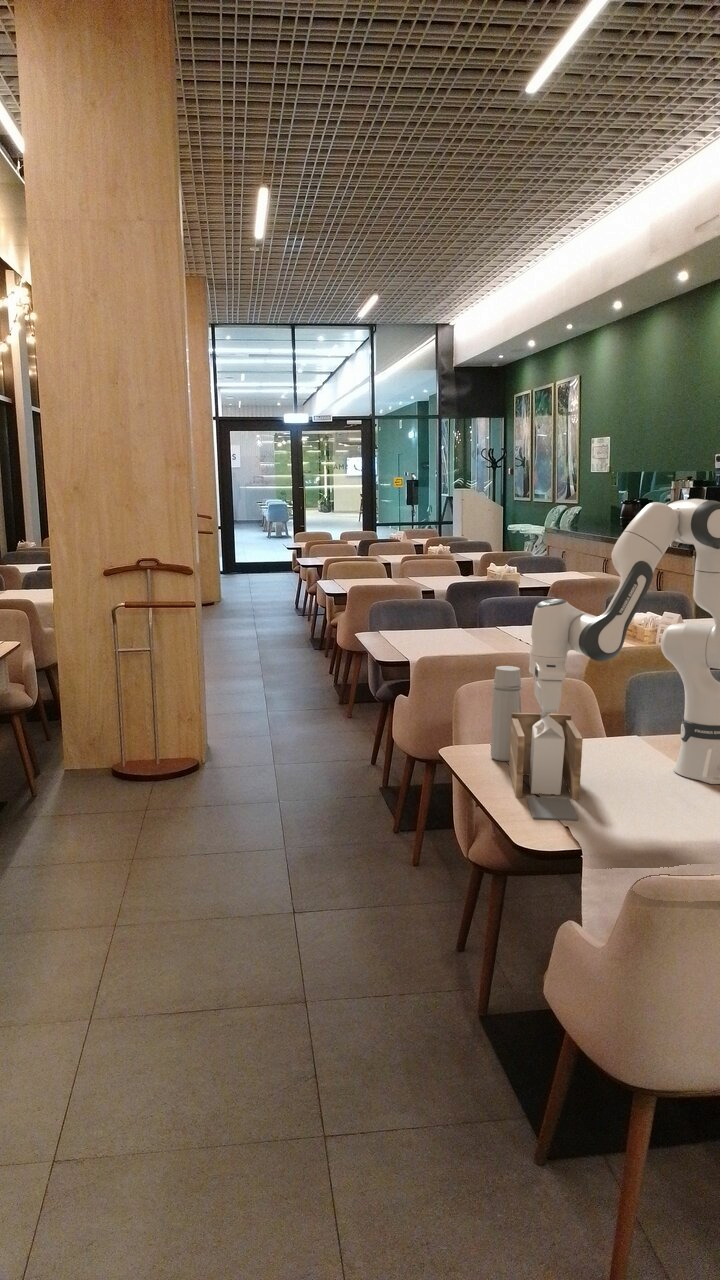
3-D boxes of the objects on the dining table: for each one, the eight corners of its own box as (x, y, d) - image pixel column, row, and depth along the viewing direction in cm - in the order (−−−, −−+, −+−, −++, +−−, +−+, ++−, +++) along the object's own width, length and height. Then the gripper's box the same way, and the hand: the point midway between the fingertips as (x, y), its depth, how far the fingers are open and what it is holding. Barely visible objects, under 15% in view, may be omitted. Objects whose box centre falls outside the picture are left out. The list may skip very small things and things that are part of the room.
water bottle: (501, 763, 254) (505, 671, 250) (484, 756, 261) (487, 666, 257) (529, 759, 258) (533, 669, 254) (511, 752, 265) (515, 663, 261)
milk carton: (557, 781, 236) (563, 711, 229) (560, 795, 229) (566, 724, 223) (528, 780, 237) (533, 710, 230) (530, 794, 230) (535, 723, 223)
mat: (568, 799, 227) (569, 798, 227) (578, 820, 213) (578, 818, 213) (526, 798, 227) (526, 796, 227) (532, 818, 213) (532, 817, 213)
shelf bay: (567, 774, 246) (570, 714, 243) (579, 799, 227) (582, 734, 224) (508, 772, 247) (511, 712, 244) (515, 797, 228) (518, 732, 225)
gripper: (530, 658, 241) (527, 711, 243) (539, 673, 221) (535, 731, 223) (555, 659, 240) (552, 712, 243) (566, 674, 220) (563, 733, 223)
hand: (544, 722), depth 233 cm, fingers closed
